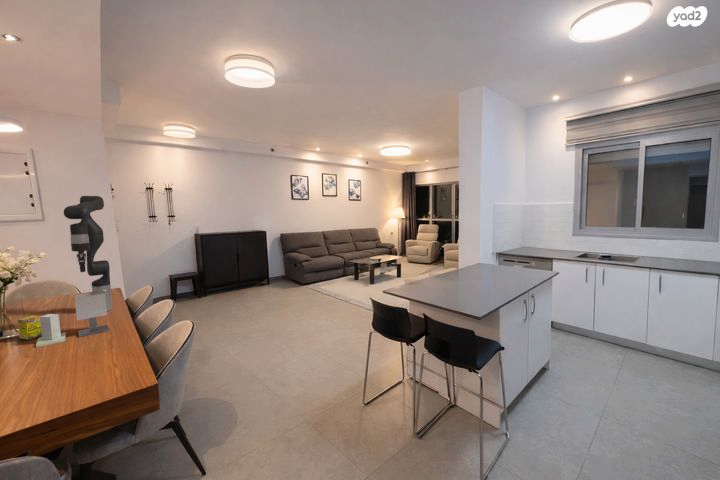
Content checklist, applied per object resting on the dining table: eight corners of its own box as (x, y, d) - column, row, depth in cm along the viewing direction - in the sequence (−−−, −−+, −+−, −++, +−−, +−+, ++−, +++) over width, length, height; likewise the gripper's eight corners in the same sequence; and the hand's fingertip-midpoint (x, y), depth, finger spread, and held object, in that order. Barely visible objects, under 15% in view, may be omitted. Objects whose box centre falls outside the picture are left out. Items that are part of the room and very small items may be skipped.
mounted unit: (78, 332, 163) (74, 294, 160) (107, 326, 171) (104, 290, 169) (78, 337, 156) (74, 297, 154) (108, 331, 165) (105, 293, 162)
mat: (38, 340, 153) (38, 337, 153) (65, 334, 160) (65, 332, 160) (36, 347, 145) (36, 344, 145) (65, 341, 152) (64, 338, 152)
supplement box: (28, 340, 152) (25, 320, 151) (19, 339, 153) (17, 319, 152) (42, 336, 158) (40, 316, 157) (34, 335, 159) (31, 315, 158)
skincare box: (61, 336, 154) (59, 314, 153) (52, 340, 150) (49, 317, 149) (51, 336, 155) (48, 313, 154) (41, 339, 151) (38, 316, 150)
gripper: (71, 241, 170) (73, 269, 172) (70, 243, 160) (73, 273, 161) (88, 240, 175) (91, 268, 177) (89, 242, 165) (92, 271, 166)
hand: (82, 270), depth 169 cm, fingers open, 8 cm apart
